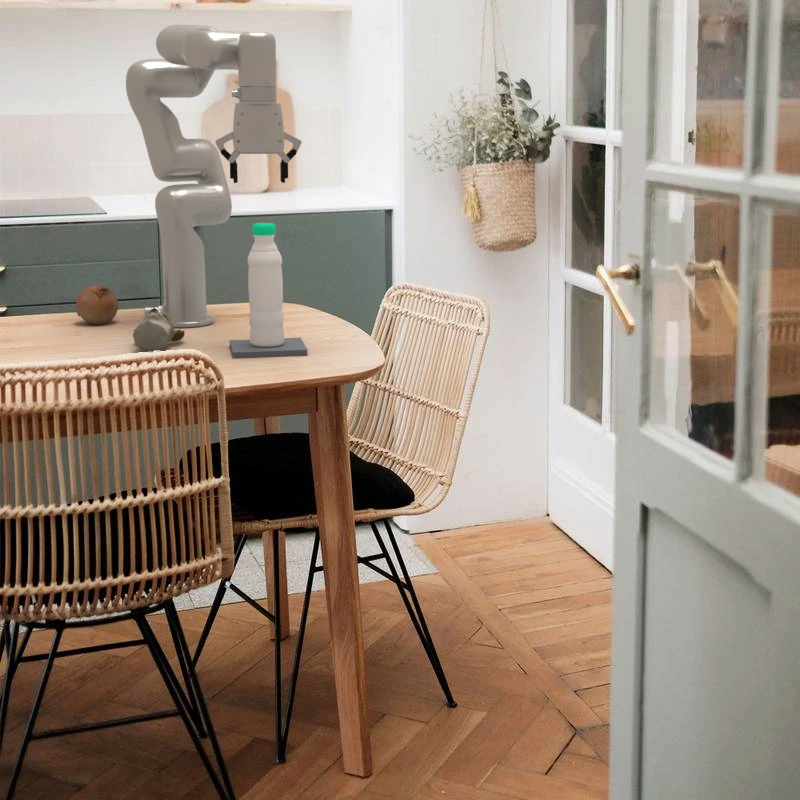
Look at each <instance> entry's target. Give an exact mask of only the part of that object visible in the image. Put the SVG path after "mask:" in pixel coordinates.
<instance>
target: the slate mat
mask: <svg viewBox="0 0 800 800" xmlns="http://www.w3.org/2000/svg"><path fill="white" fill-rule="evenodd" d="M229 349H230V352H231V355H232V358H233V359H245V358H246V359H248V358H249V359H251V358H275V357H277V358H278V357H301V356H308V348H307V346H306V344H305V343H304V341H303V340H302V337H284V343H283V344H282V345H280V346H276V347H256V346H253V345H252V344H251V343H250V338H249V339H230V340H229Z"/></svg>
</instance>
